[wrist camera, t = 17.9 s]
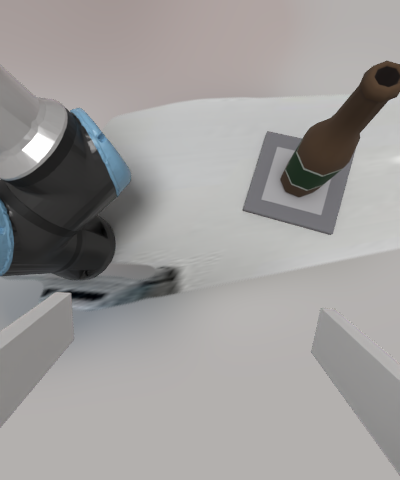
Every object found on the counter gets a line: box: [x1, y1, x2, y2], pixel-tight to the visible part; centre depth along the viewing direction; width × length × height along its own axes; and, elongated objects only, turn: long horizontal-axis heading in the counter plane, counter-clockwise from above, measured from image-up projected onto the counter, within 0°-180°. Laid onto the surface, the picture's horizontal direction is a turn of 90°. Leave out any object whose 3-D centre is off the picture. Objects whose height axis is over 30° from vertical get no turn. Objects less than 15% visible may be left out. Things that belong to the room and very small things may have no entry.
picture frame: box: [243, 131, 355, 235], centre depth 43 cm, size 18×18×1 cm
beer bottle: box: [280, 61, 400, 197], centre depth 31 cm, size 8×8×24 cm
